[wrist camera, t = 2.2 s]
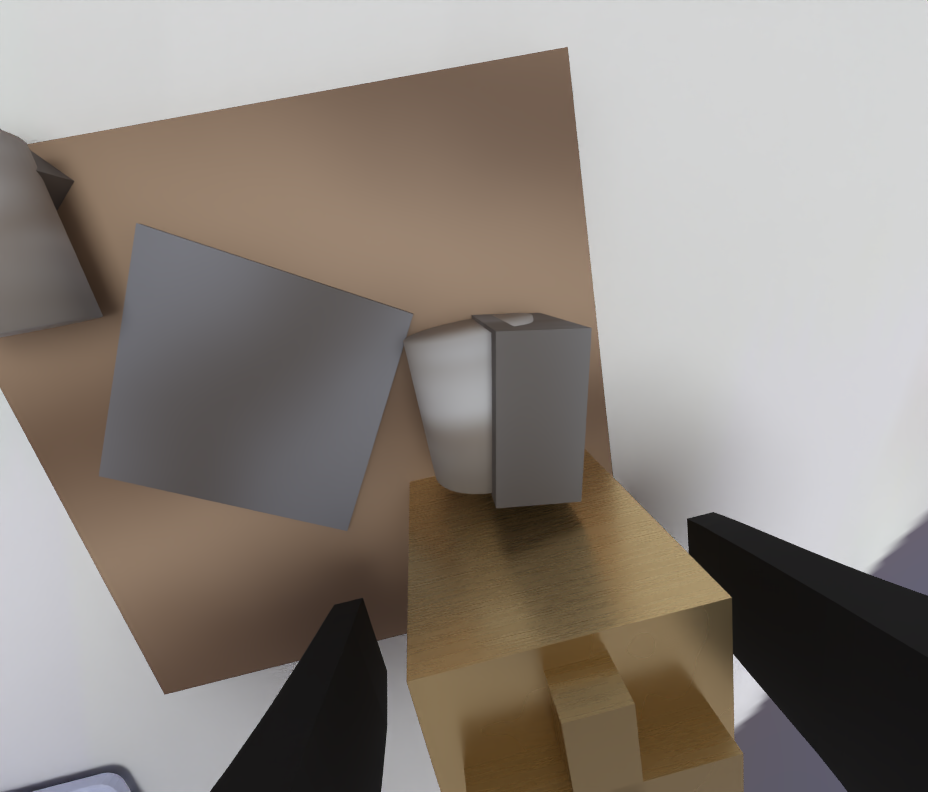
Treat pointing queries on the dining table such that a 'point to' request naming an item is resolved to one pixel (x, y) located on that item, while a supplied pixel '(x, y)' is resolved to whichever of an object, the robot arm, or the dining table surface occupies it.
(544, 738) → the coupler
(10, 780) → the dining table surface
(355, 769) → the robot arm
